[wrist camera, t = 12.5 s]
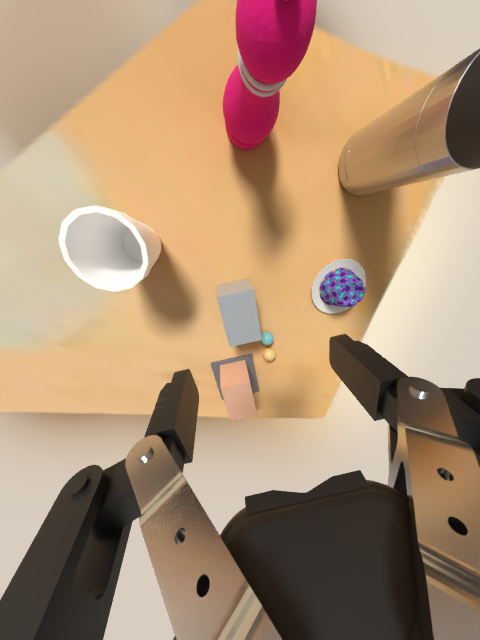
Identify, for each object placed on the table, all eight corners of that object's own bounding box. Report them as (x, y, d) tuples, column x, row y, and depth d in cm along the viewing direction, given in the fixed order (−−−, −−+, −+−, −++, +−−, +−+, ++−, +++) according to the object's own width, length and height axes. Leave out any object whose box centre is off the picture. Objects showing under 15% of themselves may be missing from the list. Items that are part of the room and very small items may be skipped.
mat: (251, 353, 47) (251, 354, 47) (258, 390, 52) (259, 391, 52) (210, 362, 47) (210, 363, 46) (222, 398, 52) (222, 399, 52)
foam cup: (180, 259, 36) (163, 273, 25) (136, 279, 37) (99, 302, 25) (150, 204, 32) (113, 190, 20) (101, 228, 33) (38, 227, 21)
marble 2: (273, 344, 46) (276, 351, 44) (274, 354, 48) (278, 361, 45) (260, 346, 46) (263, 354, 44) (262, 357, 48) (265, 364, 45)
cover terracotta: (245, 359, 47) (250, 381, 40) (251, 389, 51) (257, 414, 45) (219, 365, 47) (220, 388, 40) (228, 395, 51) (230, 420, 44)
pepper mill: (270, 90, 28) (369, -160, 10) (269, 154, 31) (341, 51, 13) (220, 88, 27) (228, -181, 9) (223, 154, 30) (234, 45, 12)
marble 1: (271, 328, 45) (274, 334, 42) (272, 339, 46) (276, 346, 43) (258, 331, 44) (260, 337, 42) (260, 342, 46) (262, 349, 43)
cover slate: (247, 278, 39) (253, 289, 32) (254, 322, 43) (262, 339, 37) (216, 285, 39) (217, 297, 32) (227, 328, 43) (229, 347, 37)
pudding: (369, 256, 40) (389, 259, 36) (357, 310, 45) (373, 319, 41) (312, 260, 39) (326, 264, 35) (307, 314, 44) (318, 325, 40)
